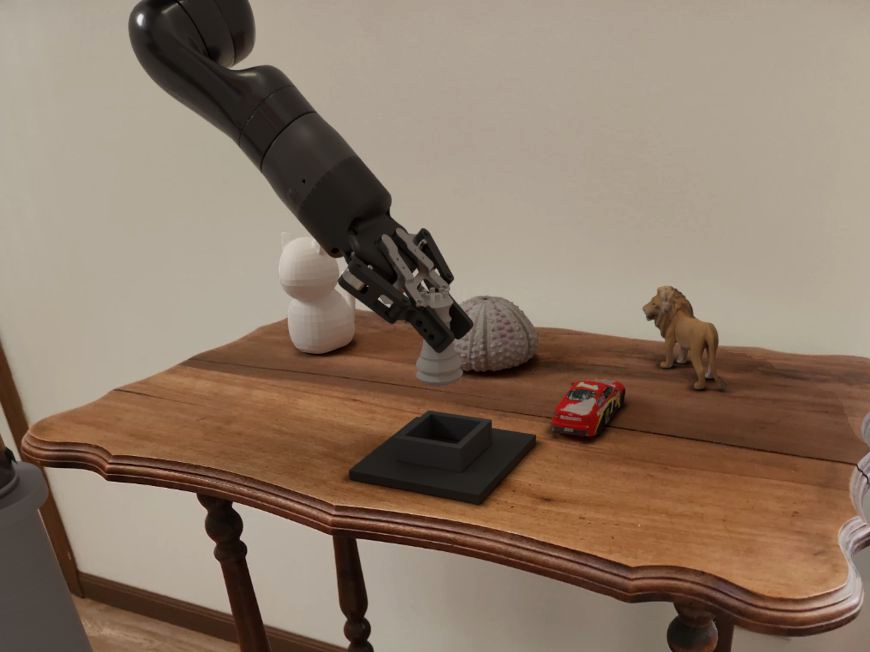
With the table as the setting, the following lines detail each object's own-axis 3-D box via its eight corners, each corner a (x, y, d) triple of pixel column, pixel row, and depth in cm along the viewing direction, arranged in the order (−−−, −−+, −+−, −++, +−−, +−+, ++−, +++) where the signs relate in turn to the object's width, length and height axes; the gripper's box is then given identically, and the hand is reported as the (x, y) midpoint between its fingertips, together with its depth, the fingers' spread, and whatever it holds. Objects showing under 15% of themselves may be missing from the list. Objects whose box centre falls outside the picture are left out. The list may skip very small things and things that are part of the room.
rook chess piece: (463, 386, 75) (460, 297, 70) (415, 388, 75) (408, 299, 70) (462, 369, 78) (459, 283, 74) (416, 371, 78) (410, 285, 74)
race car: (585, 393, 94) (586, 359, 92) (630, 400, 92) (633, 365, 89) (542, 437, 84) (543, 401, 82) (592, 445, 82) (594, 408, 80)
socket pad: (479, 504, 73) (478, 469, 71) (349, 479, 79) (344, 446, 77) (536, 443, 83) (536, 411, 81) (417, 424, 89) (414, 394, 87)
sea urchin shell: (414, 363, 105) (410, 299, 101) (491, 338, 112) (490, 277, 107) (483, 388, 97) (481, 320, 92) (561, 359, 103) (563, 295, 99)
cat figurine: (274, 354, 111) (253, 237, 102) (331, 328, 119) (316, 218, 111) (325, 364, 107) (307, 242, 98) (380, 336, 115) (368, 222, 106)
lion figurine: (632, 359, 102) (638, 285, 97) (667, 352, 104) (675, 279, 99) (707, 397, 91) (719, 316, 86) (745, 387, 93) (759, 307, 88)
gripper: (300, 166, 63) (447, 337, 66) (390, 142, 73) (514, 291, 76) (258, 235, 68) (396, 391, 71) (348, 203, 79) (465, 341, 81)
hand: (456, 338), depth 73 cm, fingers closed on rook chess piece, 3 cm apart
